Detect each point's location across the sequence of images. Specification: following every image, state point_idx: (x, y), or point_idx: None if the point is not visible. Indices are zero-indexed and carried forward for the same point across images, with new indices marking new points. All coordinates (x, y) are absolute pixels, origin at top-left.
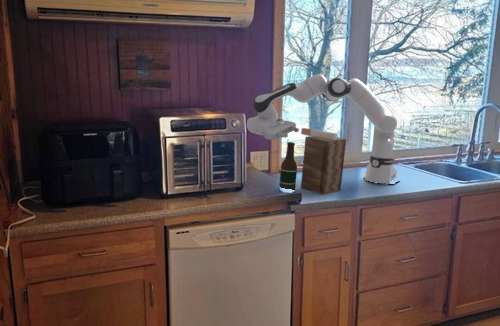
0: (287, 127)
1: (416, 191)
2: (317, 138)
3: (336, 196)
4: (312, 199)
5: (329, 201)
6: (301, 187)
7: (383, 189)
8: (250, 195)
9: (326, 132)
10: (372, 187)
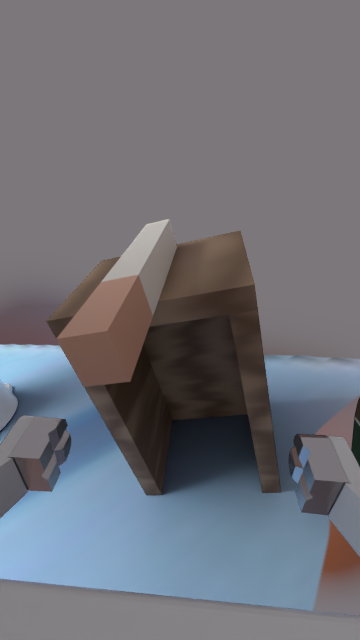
0: (52, 584)
1: (49, 347)
2: (222, 259)
3: None
4: (342, 380)
5: (301, 356)
6: (279, 486)
7: (72, 374)
8: None
9: (162, 232)
10: (66, 394)
